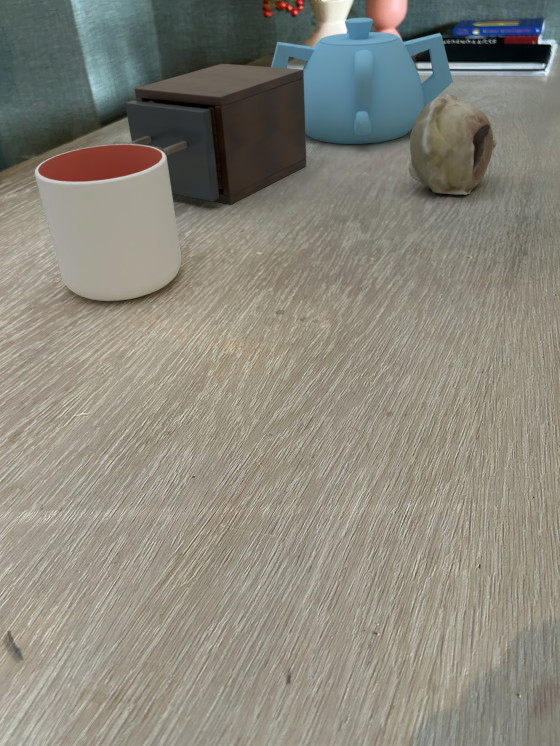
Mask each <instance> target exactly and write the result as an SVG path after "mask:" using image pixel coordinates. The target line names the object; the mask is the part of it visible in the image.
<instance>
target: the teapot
mask: <svg viewBox="0 0 560 746" xmlns="http://www.w3.org/2000/svg"><path fill="white" fill-rule="evenodd" d="M373 23H374V19H372V18H371V17H353V18H347V19H346V20H345V21H344V24H345V28H346V33H336V34H331V35H326V36H323V37H321V38H319V40H317V42H316V43H315V45H314V46H309V45H304V44H303V45H302V44H296V43H295V44H294V43H289V42H283V41H277V42H276V45H275V50H274V54H273V58H272V62H271V66H270V67H275V68H288V65H289V59H290V58H294V59H297V60H302V61H305V63H304V66H303V68H302V69H303V72H304V103H305V135H307V136H308V137H309V138H311V139H313V140H316V141H318V142H324V143H329V144H338V145H339V144H340V145H341V144H342V145H364V144H375V143H376V144H377V143H383V142H389V141H392V140H396V139H399V138H402V137H404V136H406V135H408V134H409V133H410V132H411V131H412V128H413V126H414V124H415V122H416V120H417V118H418V116H419V115H420V113H421V111H422V110H423V109H424V107H425V106H426V105H427V104H428V103H430V102H431V101H433V100H434V99H435V98H437V97H439V96H440V95H441V94H442V93H443V92H444V91H445V90H446V89H447V88H448V87H449V86H450V85H451V84H453V82H454V80H453V76H452V71H451V68H450V64H449V60H448V56H447V52H446V48H445V43H444V39H443V35H442V34H441V33H440V32H438V33H434V34H430V35H426V36H422V37H418V38H414V39H410V40H407V41H403V40H402V38H401V37H400V36H399V35H397V34H395V33H392V32H391V33H389V32H381V31H379V32H378V31H375V32H374V31H371V29H372V27H373ZM426 51H429V52H428V53H429V56H430V57H429V59H430V65H431V72H432V74H431V75H429V76H428V77H427V78H426V79H425V80H424V81H422V79H421V77H420V74H419V71H418V68H417V66H416V64H415V62H414V60H413V58H412V56H415V55H417V54H421V53H423V52H426Z"/></svg>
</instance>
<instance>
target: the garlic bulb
mask: <svg viewBox="0 0 560 746" xmlns="http://www.w3.org/2000/svg"><path fill="white" fill-rule="evenodd" d="M409 136H410V138H409V152H410V162H409V166H408V171H409V172H408V173H409V176H410V177H411V178H412V179H414V180H416V181H418V182H420V183H421V184H423V185H424V186H426V187H428V188H429V189H430V190H431V191H432V193H435V194H436V193H437V194H446V195H465V196H466V195H470V194H472V193H471V192H472V191H473V190H474V189H475V188H477V187H478V185H479V184H480V182H481V181H482V180H483V178H484V177H485V175H486V173H487V170H488V167H489V164H490V162H491V159H492V156H493V151H494V149H495V148H496V147H497V144H498V143H497V140H495V139H494V133H493V128H492V125H491V122H490V120H489V118H488V117H487V115H486V114H485V113H484V112H483V110H481V109H480V108H479V107H477V106H475V105H473V104H471V103H470V102H468V101H464V100H460V99H459V98H458V97H457V96H456V95H451V94H448V93H446V94H445V96H444V97H442V96H437V97H436V98H435V99H434V100H433V101H431V102H430V103H428V104H427V105H426V106H425V107H424V109H423V110H422V111H421V113H420V115H419V116H418V118H417V120H416V122H415V124H414V126H413V128H412V129H411V130H410V135H409Z"/></svg>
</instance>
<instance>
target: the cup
mask: <svg viewBox="0 0 560 746" xmlns="http://www.w3.org/2000/svg"><path fill="white" fill-rule="evenodd" d="M34 177H35V181H36V186H37V190H38V192H39V196H40V201H41V204H42V208H43V212H44V216H45V219H46V224H47V227H48V228H47V229H48V231H49V235H50V239H51V243H52V247H53V250H54V254H55V259H56V263H57V266H58V270H59V274H60V278H61V279H62V282H63V283H64V286H66V287H67V288H68V289H69V290H70V291H71V292H73V293H74V294H75V295H78V296H80V297H82V298H85V299H88V300H93V301H99V302H117V301H118V302H119V301H125V300H132V299H136V298H141V297H144V296H147V295H150V294H153V293H155V292H156V291H159V290H161V289H162V288H164V287H166V286H167V285H168V284H169V283H170V282H172V281H173V280H174V279H175V278H176V277H177V275H178V273H179V270H180V269H181V265H182V253H181V246H180V240H179V239H180V238H179V231H178V226H177V220H176V218H177V217H176V212H175V207H174V206H175V204H174V198H173V193H172V191H171V184H170V177H169V170H168V163H167V157H166V155H165V153H164V152H163V151H161V150H159V149H157V148H154V147H150V146H145V145H134V144H115V145H112V144H103V145H102V144H101V145H96V146H89V147H88V146H87V147H82V148H78V149H74V150H70V151H66V152H62V153H59V154H56V155H54V156H52V157H49V158H48V159H45V160H43V161H42V162H41V163H40V164H38V165H37V166H36V168H35V170H34Z"/></svg>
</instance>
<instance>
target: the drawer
mask: <svg viewBox="0 0 560 746" xmlns="http://www.w3.org/2000/svg"><path fill="white" fill-rule="evenodd" d="M124 105H125V111H126V116H127V122H128V128H129V129H128V130H129V133H130V141H124V140H123V141H122V140H115V141H113V142H112V144H111V145H115V144H134V145H145V146H150V147H154V148H157V149H159V150H161V151H163V152H164V153H165V155H166V157H167V163H168V170H169V177H170V184H171V191H172V194H174V195H179V196H184V197H187V198H188V197H189V198H192V199H199V200H204V201H208V202H215V201H214V200H216V199H218V198H219V190H218V189H223V182H222V172H221V162H220V152H219V142H218V132H217V122H216V112H215V106H212V105H203V104H194V103H185V102H176V101H167V100H158V99H152V100H149V102H141V101H136V100H130V101H126V102H125V103H124Z"/></svg>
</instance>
